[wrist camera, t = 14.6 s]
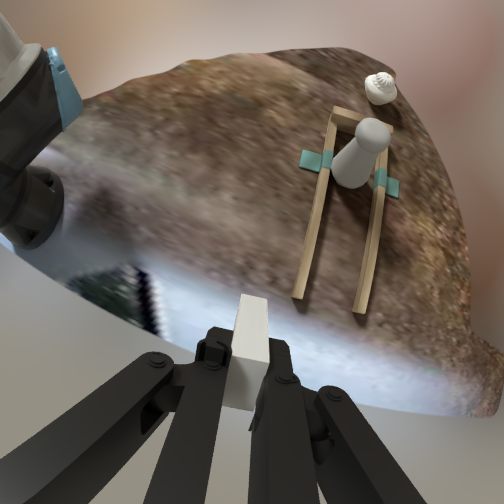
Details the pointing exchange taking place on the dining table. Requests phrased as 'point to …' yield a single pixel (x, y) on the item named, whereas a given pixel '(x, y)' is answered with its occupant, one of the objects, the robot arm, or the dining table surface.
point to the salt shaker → (360, 153)
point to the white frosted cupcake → (380, 88)
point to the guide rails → (314, 162)
